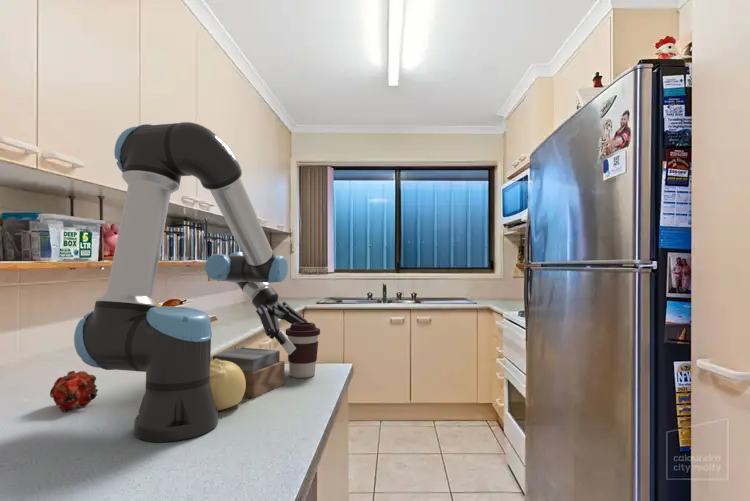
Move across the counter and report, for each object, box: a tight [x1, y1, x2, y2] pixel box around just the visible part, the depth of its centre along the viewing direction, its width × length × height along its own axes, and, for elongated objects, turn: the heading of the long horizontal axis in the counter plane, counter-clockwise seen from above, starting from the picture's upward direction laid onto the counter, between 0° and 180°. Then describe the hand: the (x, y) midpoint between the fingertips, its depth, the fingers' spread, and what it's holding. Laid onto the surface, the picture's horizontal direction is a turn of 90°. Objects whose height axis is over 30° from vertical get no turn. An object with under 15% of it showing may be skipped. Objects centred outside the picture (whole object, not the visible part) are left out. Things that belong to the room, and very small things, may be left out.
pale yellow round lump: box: [210, 359, 246, 412], centre depth 100 cm, size 12×12×11 cm
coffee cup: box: [285, 321, 321, 379], centre depth 128 cm, size 10×10×15 cm
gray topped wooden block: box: [212, 347, 286, 399], centre depth 115 cm, size 14×14×9 cm
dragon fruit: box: [49, 370, 99, 413], centre depth 98 cm, size 8×8×12 cm
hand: (304, 347), depth 129 cm, fingers open, 13 cm apart
